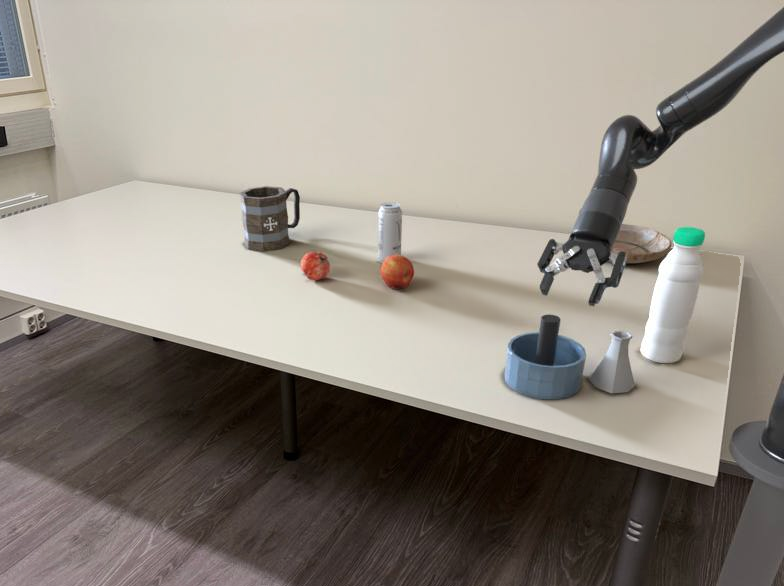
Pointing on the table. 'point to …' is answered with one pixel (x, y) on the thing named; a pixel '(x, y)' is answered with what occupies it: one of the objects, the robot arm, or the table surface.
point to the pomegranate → (315, 265)
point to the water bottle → (674, 298)
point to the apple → (397, 271)
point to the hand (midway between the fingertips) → (566, 298)
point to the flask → (615, 366)
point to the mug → (267, 217)
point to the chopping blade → (547, 340)
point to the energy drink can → (389, 230)
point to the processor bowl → (544, 368)
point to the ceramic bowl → (640, 244)
